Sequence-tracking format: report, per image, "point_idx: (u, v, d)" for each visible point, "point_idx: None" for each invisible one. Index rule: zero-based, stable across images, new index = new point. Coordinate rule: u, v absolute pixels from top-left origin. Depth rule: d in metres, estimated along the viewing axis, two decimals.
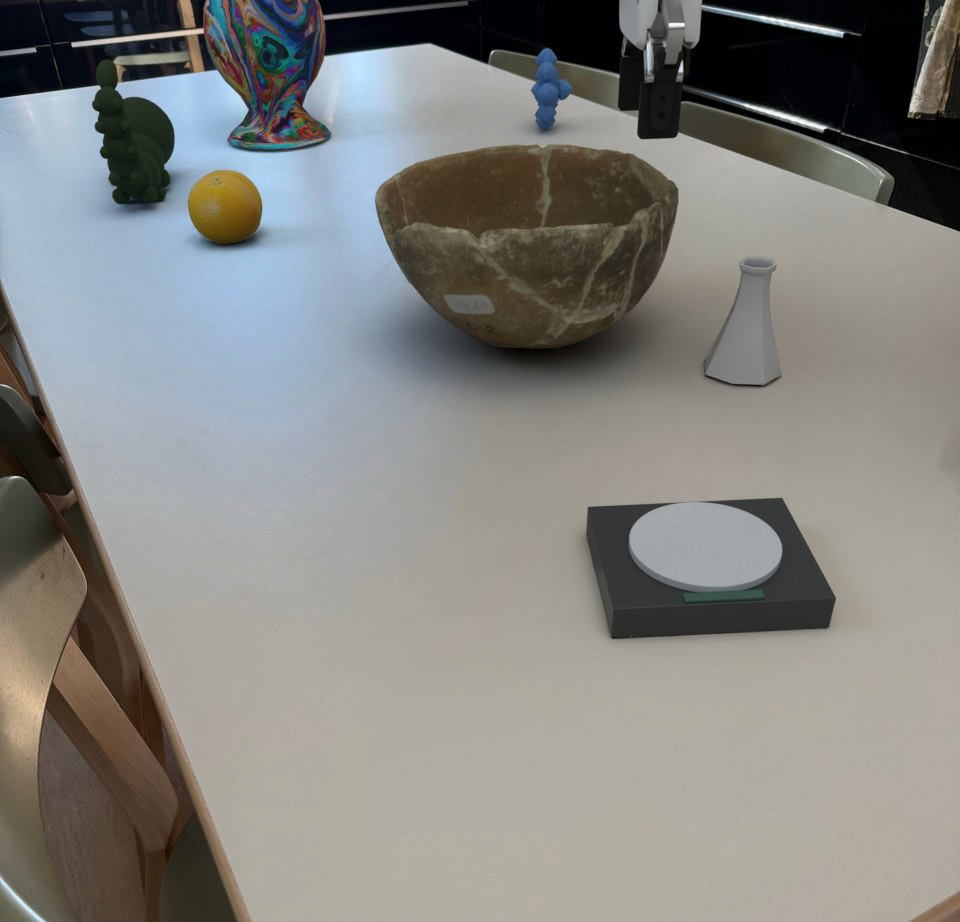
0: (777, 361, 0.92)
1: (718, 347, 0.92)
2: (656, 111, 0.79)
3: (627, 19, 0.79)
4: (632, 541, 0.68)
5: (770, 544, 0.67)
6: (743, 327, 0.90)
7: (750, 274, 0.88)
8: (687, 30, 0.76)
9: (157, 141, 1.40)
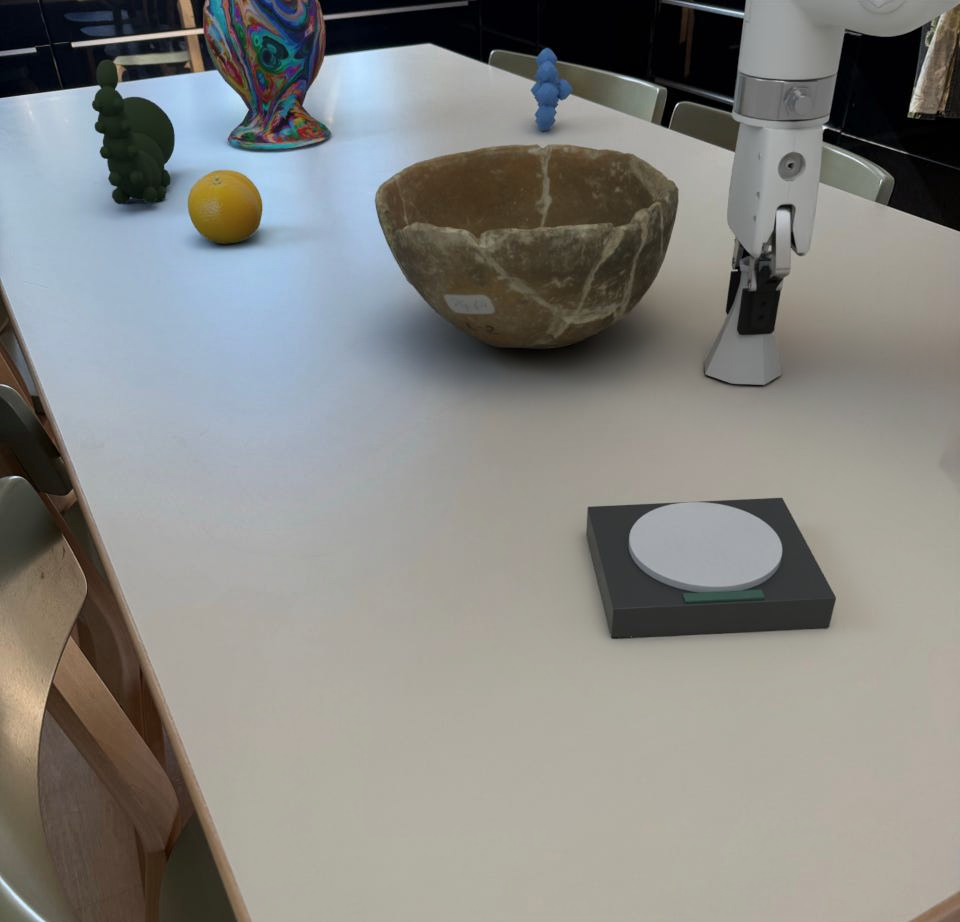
0: (777, 361, 0.92)
1: (718, 347, 0.92)
2: (756, 314, 0.88)
3: (740, 226, 0.85)
4: (632, 541, 0.68)
5: (770, 544, 0.67)
6: None
7: None
8: (800, 244, 0.82)
9: (157, 141, 1.40)
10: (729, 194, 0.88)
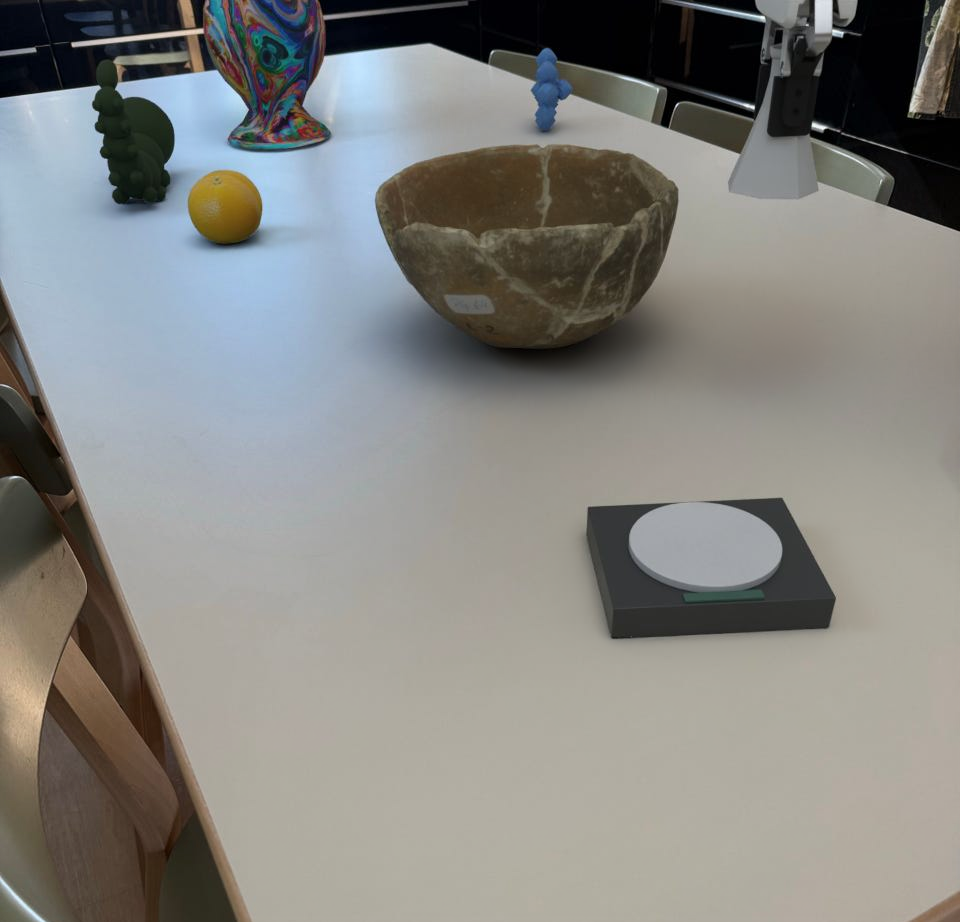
0: (814, 173, 0.79)
1: (744, 157, 0.78)
2: (790, 107, 0.74)
3: None
4: (632, 541, 0.68)
5: (770, 544, 0.67)
6: None
7: None
8: (843, 5, 0.69)
9: (157, 141, 1.40)
10: None
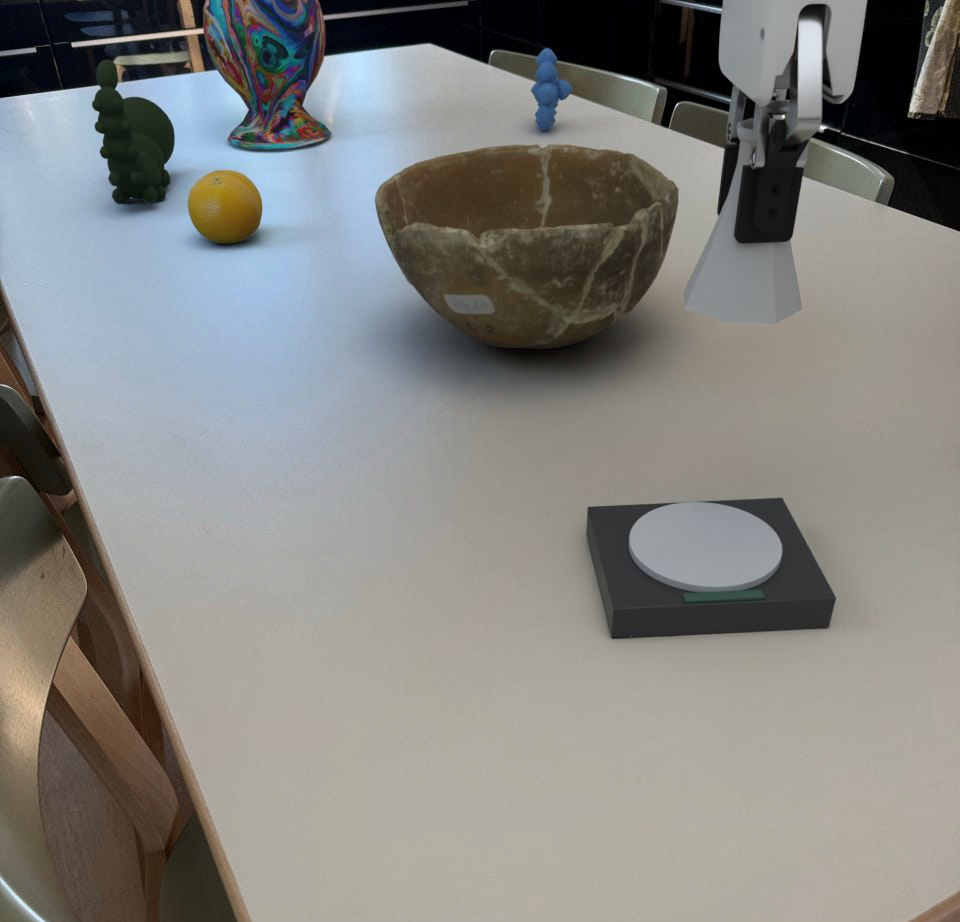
0: (796, 288, 0.59)
1: (704, 266, 0.59)
2: (764, 207, 0.55)
3: (738, 58, 0.53)
4: (632, 541, 0.68)
5: (770, 544, 0.67)
6: None
7: None
8: (837, 78, 0.49)
9: (157, 141, 1.40)
10: (722, 17, 0.55)
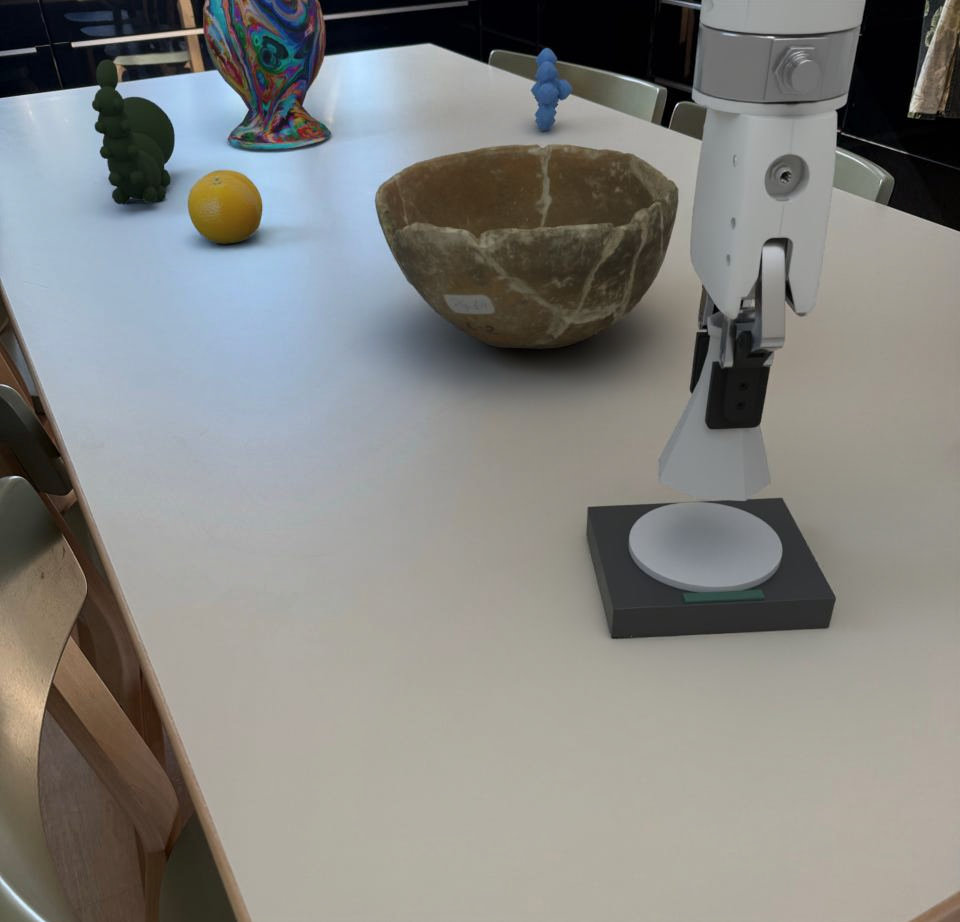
0: (765, 465, 0.62)
1: (677, 444, 0.62)
2: (733, 401, 0.58)
3: (707, 268, 0.55)
4: (632, 541, 0.68)
5: (770, 544, 0.67)
6: None
7: None
8: (800, 299, 0.52)
9: (157, 141, 1.40)
10: (692, 218, 0.58)
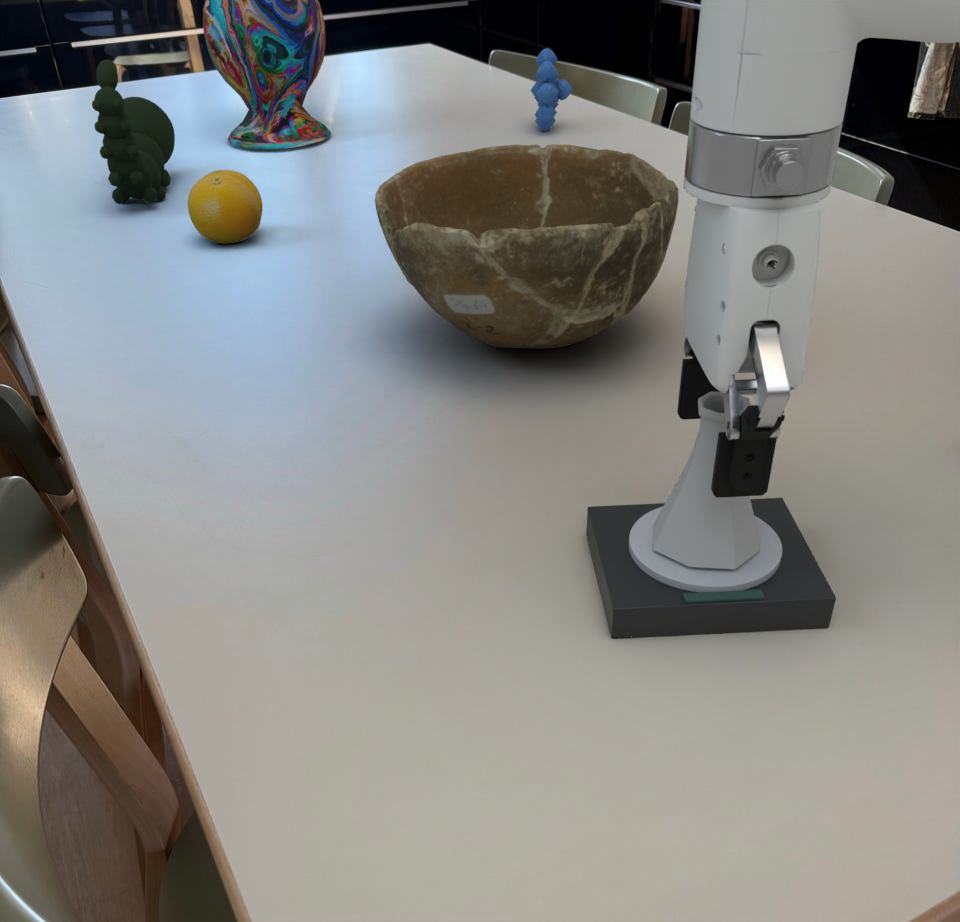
0: (753, 534, 0.65)
1: (670, 515, 0.65)
2: (740, 471, 0.57)
3: (699, 342, 0.58)
4: (632, 541, 0.68)
5: (770, 544, 0.67)
6: (704, 491, 0.63)
7: (713, 421, 0.61)
8: (787, 375, 0.55)
9: (157, 141, 1.40)
10: (685, 290, 0.61)
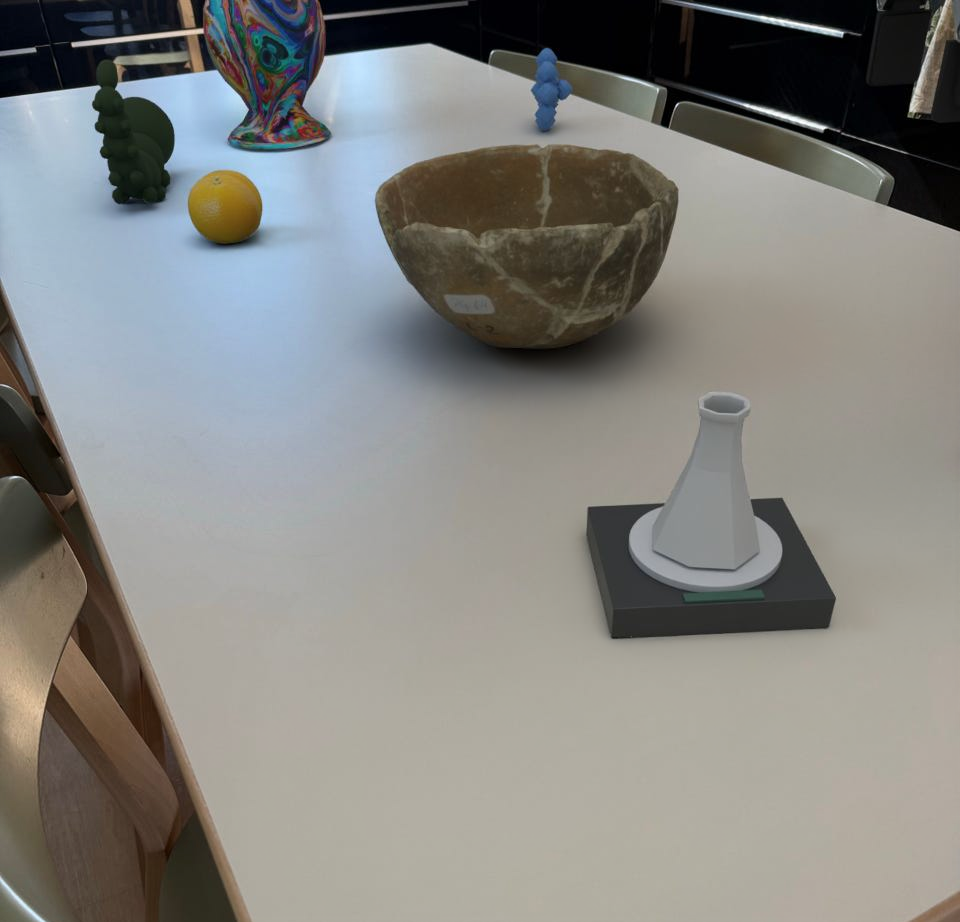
0: (753, 534, 0.65)
1: (670, 515, 0.65)
2: None
3: None
4: (632, 541, 0.68)
5: (770, 544, 0.67)
6: (704, 491, 0.63)
7: (713, 421, 0.61)
8: None
9: (157, 141, 1.40)
10: None
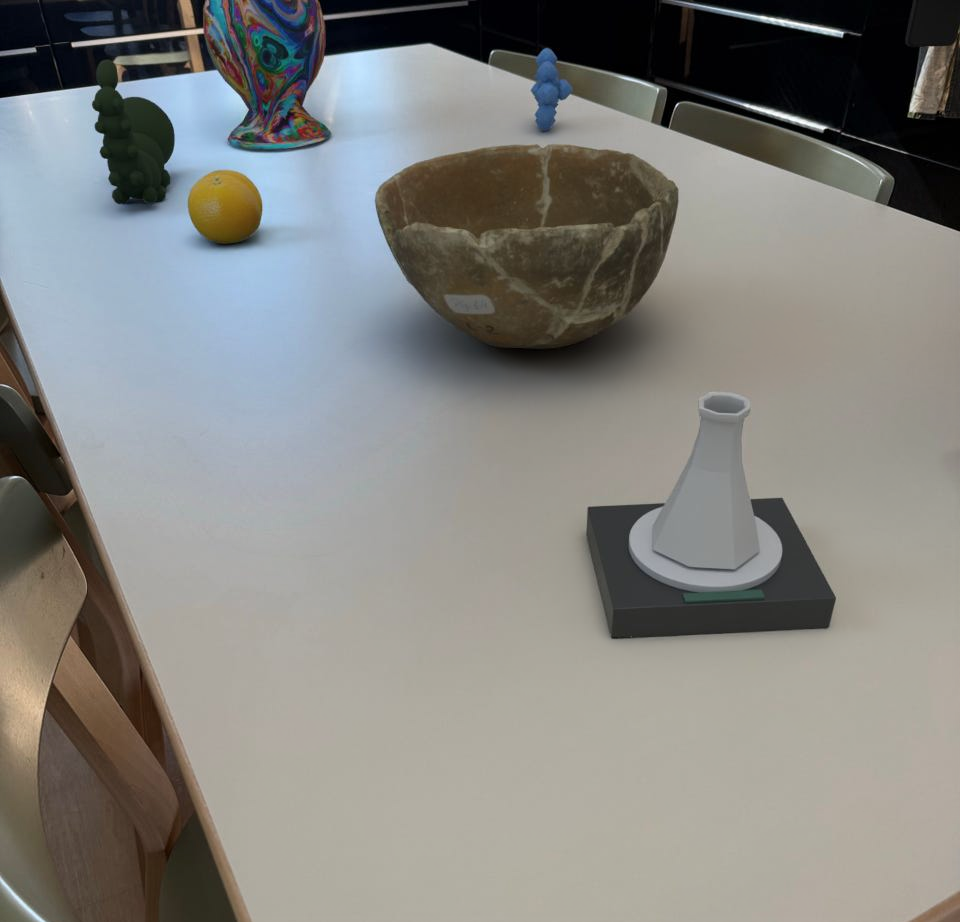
0: (753, 534, 0.65)
1: (670, 515, 0.65)
2: None
3: None
4: (632, 541, 0.68)
5: (770, 544, 0.67)
6: (704, 491, 0.63)
7: (713, 421, 0.61)
8: None
9: (157, 141, 1.40)
10: None
